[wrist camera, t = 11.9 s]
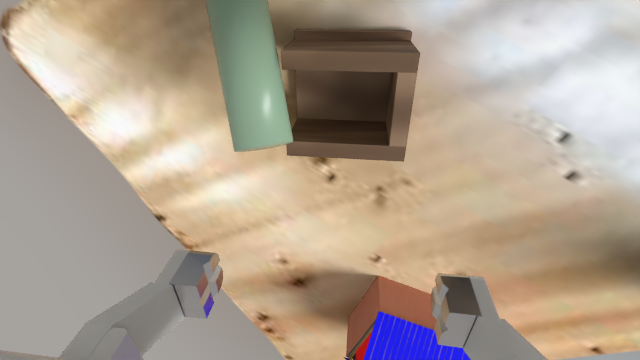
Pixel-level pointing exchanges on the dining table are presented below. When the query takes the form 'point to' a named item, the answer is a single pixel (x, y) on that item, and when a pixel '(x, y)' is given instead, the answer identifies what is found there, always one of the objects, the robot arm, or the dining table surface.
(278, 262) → the dining table surface
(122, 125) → the dining table surface
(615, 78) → the dining table surface
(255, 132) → the slim bottle
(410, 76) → the u rest
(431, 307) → the robot arm
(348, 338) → the brown and blue block
